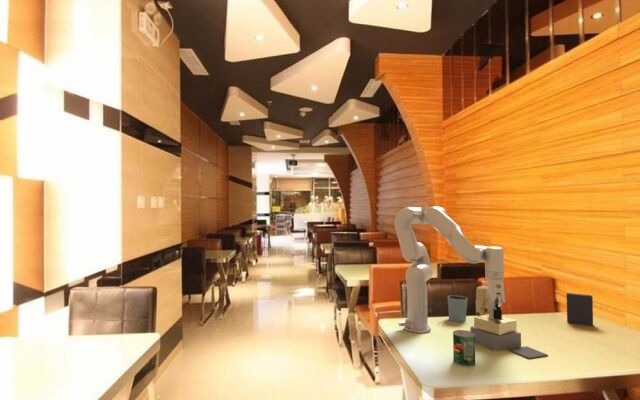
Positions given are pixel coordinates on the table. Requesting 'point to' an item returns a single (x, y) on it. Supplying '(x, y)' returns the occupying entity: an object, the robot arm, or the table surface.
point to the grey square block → (497, 339)
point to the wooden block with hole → (495, 324)
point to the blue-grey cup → (457, 308)
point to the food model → (482, 301)
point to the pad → (527, 352)
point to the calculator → (580, 309)
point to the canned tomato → (464, 348)
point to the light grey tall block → (491, 307)
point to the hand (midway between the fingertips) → (495, 316)
